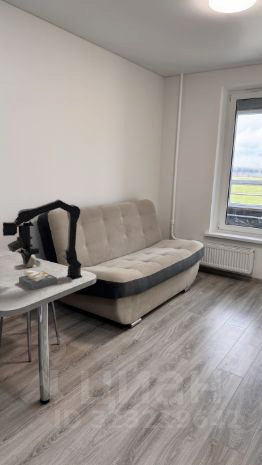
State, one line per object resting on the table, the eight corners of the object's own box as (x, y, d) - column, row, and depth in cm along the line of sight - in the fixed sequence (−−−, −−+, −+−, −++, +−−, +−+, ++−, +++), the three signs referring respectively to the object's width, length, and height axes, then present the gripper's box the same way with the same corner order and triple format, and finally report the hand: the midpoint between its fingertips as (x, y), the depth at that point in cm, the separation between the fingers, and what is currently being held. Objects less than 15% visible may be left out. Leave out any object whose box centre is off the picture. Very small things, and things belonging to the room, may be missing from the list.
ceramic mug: (23, 268, 189) (22, 255, 188) (22, 264, 197) (22, 252, 195) (41, 267, 193) (41, 254, 191) (40, 263, 200) (40, 251, 199)
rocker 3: (42, 276, 165) (41, 273, 164) (45, 277, 163) (44, 274, 162) (32, 280, 161) (32, 277, 161) (36, 281, 159) (35, 278, 159)
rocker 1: (32, 273, 171) (33, 270, 171) (35, 275, 169) (36, 271, 169) (23, 274, 167) (24, 270, 167) (26, 275, 165) (26, 272, 165)
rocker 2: (37, 274, 168) (36, 271, 167) (40, 275, 166) (39, 272, 165) (28, 277, 164) (27, 274, 164) (31, 279, 162) (30, 276, 162)
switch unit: (43, 276, 177) (42, 270, 176) (56, 283, 167) (56, 277, 167) (19, 282, 167) (18, 276, 166) (32, 289, 157) (32, 283, 157)
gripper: (0, 233, 163) (2, 263, 166) (18, 240, 150) (19, 272, 153) (21, 231, 171) (22, 259, 174) (39, 237, 158) (40, 267, 161)
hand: (25, 264), depth 165 cm, fingers closed
